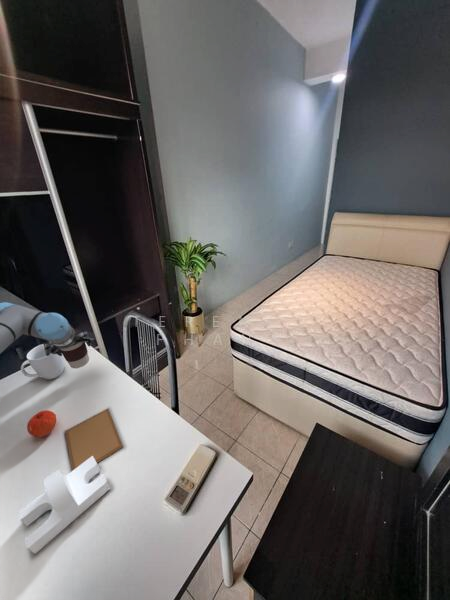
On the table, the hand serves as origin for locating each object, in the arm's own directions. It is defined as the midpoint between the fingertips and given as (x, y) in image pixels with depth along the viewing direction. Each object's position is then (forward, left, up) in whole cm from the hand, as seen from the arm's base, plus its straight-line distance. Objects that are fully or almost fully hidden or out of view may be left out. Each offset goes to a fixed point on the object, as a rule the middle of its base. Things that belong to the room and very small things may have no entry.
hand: (74, 347), depth 103 cm
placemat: (+37, -4, -13) cm, 39 cm away
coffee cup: (+3, 0, -6) cm, 7 cm away
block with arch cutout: (+52, -13, -13) cm, 55 cm away
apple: (+23, -16, -13) cm, 31 cm away
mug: (-7, -12, -13) cm, 19 cm away
